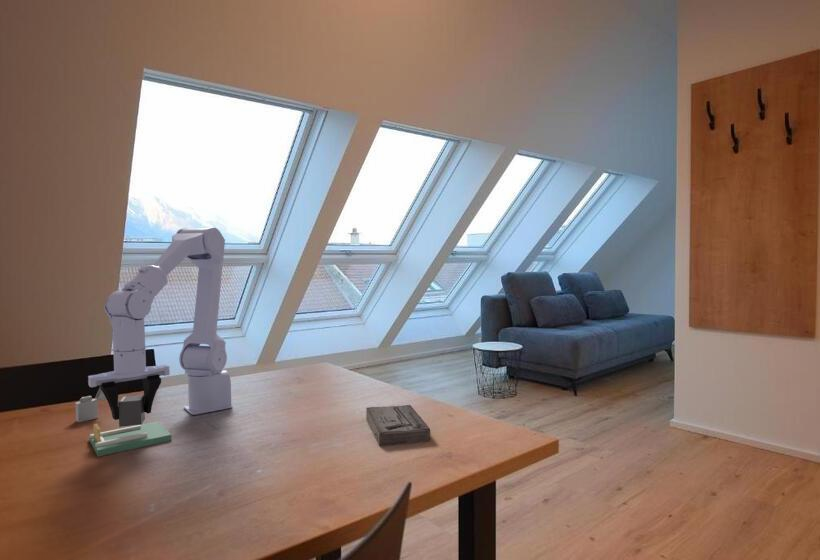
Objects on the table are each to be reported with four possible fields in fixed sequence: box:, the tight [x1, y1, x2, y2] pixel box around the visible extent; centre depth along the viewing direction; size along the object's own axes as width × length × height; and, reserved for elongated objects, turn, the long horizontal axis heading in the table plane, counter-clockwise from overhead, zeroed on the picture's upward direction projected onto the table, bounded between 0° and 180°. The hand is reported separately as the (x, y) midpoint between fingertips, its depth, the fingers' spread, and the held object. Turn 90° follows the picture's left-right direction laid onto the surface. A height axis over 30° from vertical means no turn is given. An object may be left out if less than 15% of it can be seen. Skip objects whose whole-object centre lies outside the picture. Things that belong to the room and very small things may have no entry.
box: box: [365, 404, 431, 447], centre depth 111 cm, size 11×17×3 cm, turn 14°
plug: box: [118, 394, 146, 428], centre depth 105 cm, size 4×4×5 cm
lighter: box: [74, 387, 106, 423], centre depth 120 cm, size 7×2×8 cm, turn 141°
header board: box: [88, 420, 173, 457], centre depth 105 cm, size 13×11×4 cm
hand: (132, 415), depth 106 cm, fingers closed on plug, 5 cm apart
